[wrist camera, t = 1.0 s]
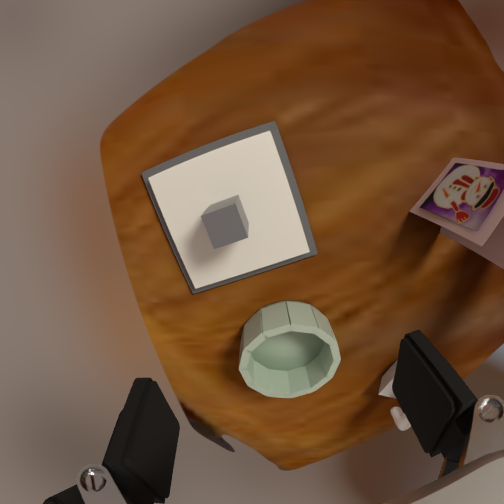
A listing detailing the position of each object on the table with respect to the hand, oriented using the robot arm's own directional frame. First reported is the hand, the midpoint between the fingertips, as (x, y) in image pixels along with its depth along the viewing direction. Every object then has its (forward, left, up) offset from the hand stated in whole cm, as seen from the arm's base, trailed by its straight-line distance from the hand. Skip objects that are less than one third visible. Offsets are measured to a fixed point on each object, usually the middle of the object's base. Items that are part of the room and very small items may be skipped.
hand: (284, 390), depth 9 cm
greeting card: (-26, +5, -27) cm, 37 cm away
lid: (+3, -2, -26) cm, 26 cm away
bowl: (+2, +18, -26) cm, 32 cm away
